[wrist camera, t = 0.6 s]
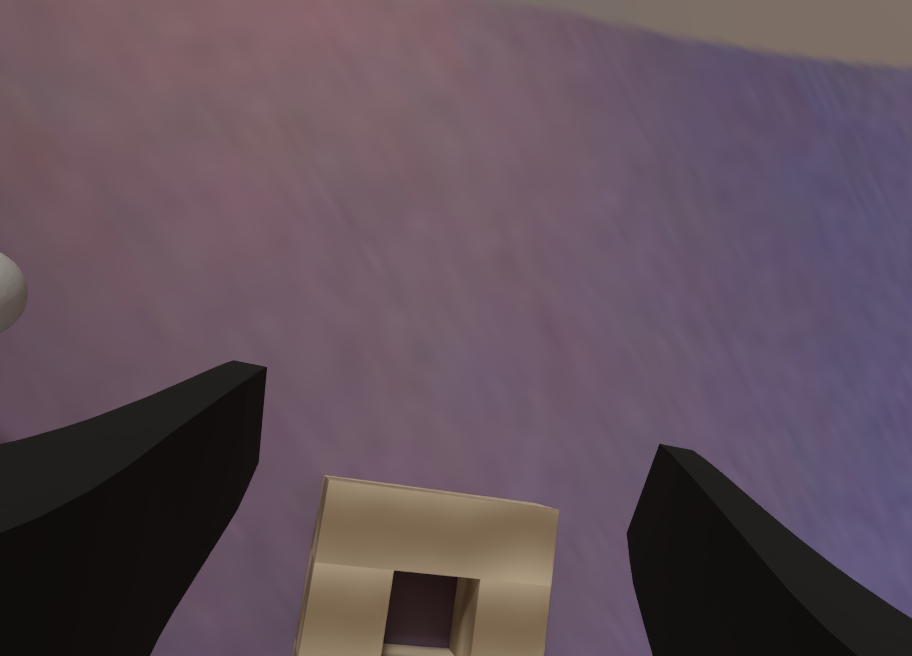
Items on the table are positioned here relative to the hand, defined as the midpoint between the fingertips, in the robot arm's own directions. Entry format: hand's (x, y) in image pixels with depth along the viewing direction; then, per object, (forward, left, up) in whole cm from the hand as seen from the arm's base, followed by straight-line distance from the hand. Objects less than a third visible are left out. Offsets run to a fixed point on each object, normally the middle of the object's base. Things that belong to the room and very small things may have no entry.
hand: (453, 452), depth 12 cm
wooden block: (-8, -5, -25) cm, 27 cm away
